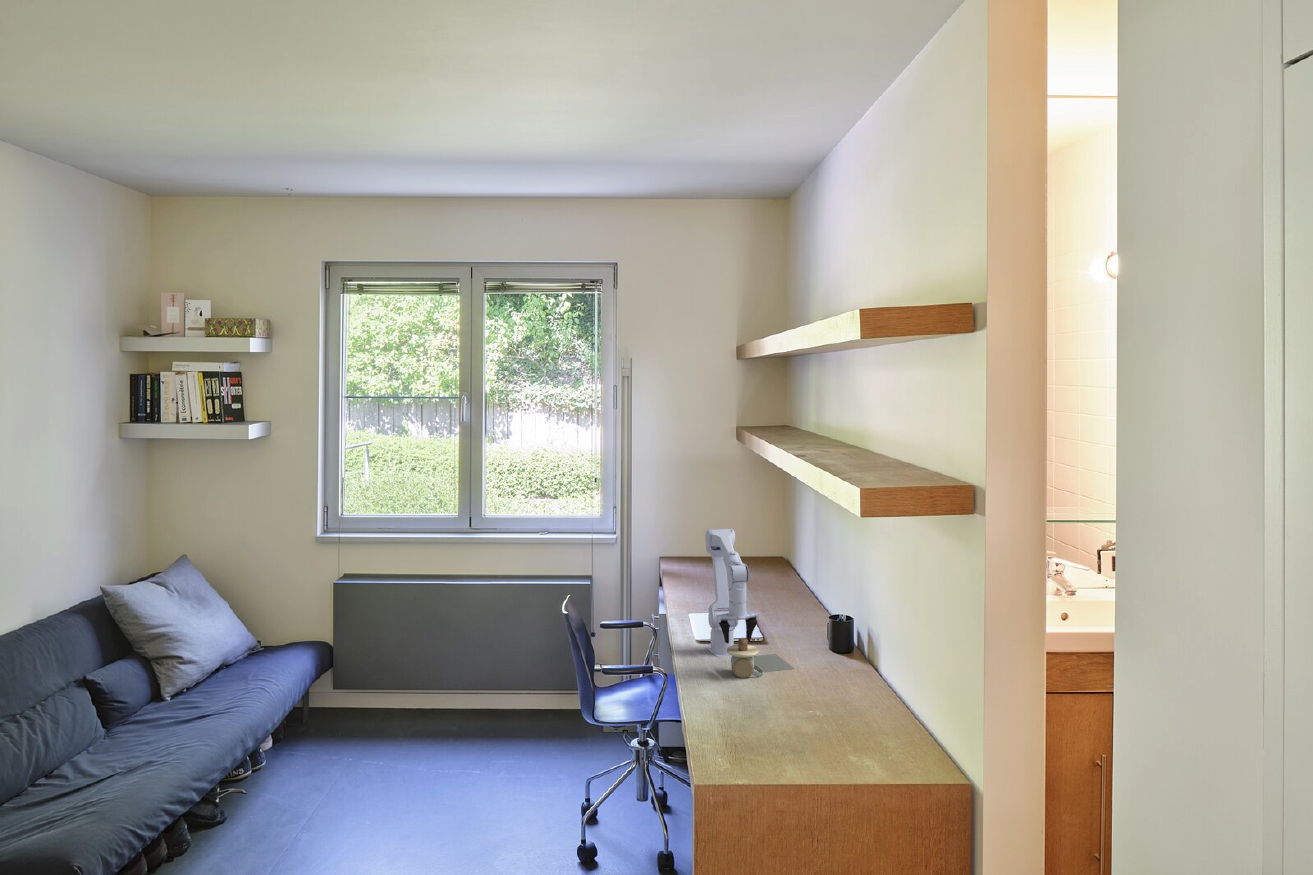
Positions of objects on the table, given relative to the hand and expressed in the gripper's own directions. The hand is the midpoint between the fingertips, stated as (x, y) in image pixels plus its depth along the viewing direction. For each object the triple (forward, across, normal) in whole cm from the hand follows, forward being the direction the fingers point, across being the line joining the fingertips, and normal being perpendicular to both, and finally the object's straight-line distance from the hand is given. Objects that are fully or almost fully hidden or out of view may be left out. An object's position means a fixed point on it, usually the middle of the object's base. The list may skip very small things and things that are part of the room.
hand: (737, 641), depth 271 cm
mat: (+10, +13, +4) cm, 17 cm away
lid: (+3, +1, -3) cm, 4 cm away
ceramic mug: (+11, +2, -4) cm, 11 cm away
